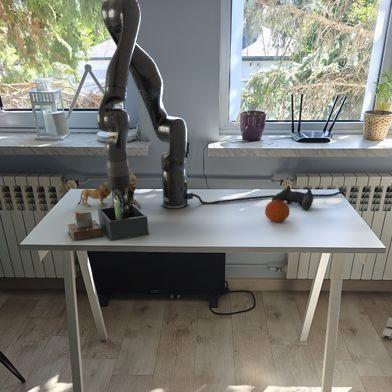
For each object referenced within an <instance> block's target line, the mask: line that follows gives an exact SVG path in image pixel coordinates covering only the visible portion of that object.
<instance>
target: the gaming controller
mask: <svg viewBox="0 0 392 392" xmlns="http://www.w3.org/2000/svg"><path fill="white" fill-rule="evenodd" d="M313 194H314V193H313V192H312V190H311V188H308V189H307V191H306V192H302V191H297V190H291V186H290V185H288V184H287V186H286V187H285V188H284V189H283V190H281V191H279V192H278V193H276V194H274V195H275V196H273V197H272V198H271V201H274V200H276V199H278V200H282V201H284V202H285V203H287V204H291V203H295V204H298V205H300V206H301V207H302V210H304V211H308V210H310V209H311V207H312V205H313V202H314V196H313Z"/></svg>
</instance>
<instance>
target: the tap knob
mask: <svg viewBox="0 0 392 392" xmlns="http://www.w3.org/2000/svg"><path fill="white" fill-rule="evenodd" d="M73 215H74V222H75V223H76V227H77V228H82V227H89V226H93V222H92V221H93V216H92V215H93V214H92V211H91V210H90V209H87V210H80V211H77V210H76V211H74V212H73Z"/></svg>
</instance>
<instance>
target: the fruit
mask: <svg viewBox="0 0 392 392" xmlns="http://www.w3.org/2000/svg"><path fill="white" fill-rule="evenodd" d="M264 215H265V217H266V218H267V219H268V220H269V221H271V222H274V223H281V222H284V221H285V220H287V219H288V218H289V216H290V207H289V205H288V203H287V202H286V201H282V200H278V199H276V200H274V201H272V200H271V201H270V202H268V203H267V205H266V206H265V209H264Z"/></svg>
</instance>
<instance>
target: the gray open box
mask: <svg viewBox="0 0 392 392" xmlns="http://www.w3.org/2000/svg"><path fill="white" fill-rule="evenodd" d="M130 210H131V212H129V218H128V219H121V220H116V215H115V206H114V207H110V206H108V207H102V208H97V214H98V224H99V226H100V227H101V228H102V232H104V233H105V234H106V236H107V238H108V239H110V241H116V240H122V239H128V238H134V237H141V236H146V235H149V225H148V224H149V222H148V215H146V213H145V212H143V211H142V210H141V209H140V207H139V208H137V207H136V206H135V205H134V204H130Z"/></svg>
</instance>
